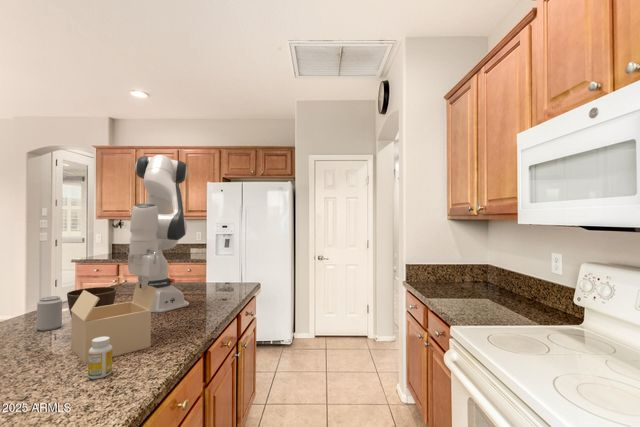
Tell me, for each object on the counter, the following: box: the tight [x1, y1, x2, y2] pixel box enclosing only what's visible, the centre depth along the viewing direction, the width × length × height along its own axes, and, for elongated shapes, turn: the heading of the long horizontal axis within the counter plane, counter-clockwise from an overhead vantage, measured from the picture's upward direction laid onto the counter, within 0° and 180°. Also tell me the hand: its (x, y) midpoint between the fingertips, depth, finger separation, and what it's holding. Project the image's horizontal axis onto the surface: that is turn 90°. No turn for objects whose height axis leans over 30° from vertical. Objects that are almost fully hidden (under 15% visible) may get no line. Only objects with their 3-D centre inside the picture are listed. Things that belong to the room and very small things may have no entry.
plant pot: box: [66, 286, 117, 319], centre depth 121 cm, size 15×15×16 cm
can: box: [36, 295, 63, 332], centre depth 129 cm, size 8×8×12 cm
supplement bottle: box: [87, 336, 113, 380], centre depth 89 cm, size 5×5×10 cm
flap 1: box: [71, 290, 100, 321], centre depth 104 cm, size 7×17×1 cm
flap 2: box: [132, 281, 156, 309], centre depth 116 cm, size 7×17×1 cm
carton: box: [70, 301, 152, 365], centre depth 109 cm, size 18×18×12 cm
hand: (143, 288), depth 116 cm, fingers closed, pressing on flap 2
